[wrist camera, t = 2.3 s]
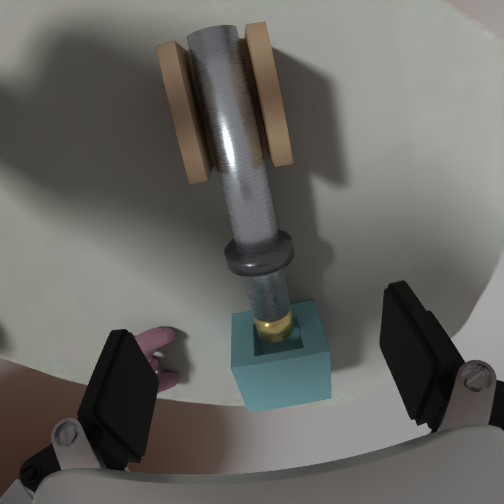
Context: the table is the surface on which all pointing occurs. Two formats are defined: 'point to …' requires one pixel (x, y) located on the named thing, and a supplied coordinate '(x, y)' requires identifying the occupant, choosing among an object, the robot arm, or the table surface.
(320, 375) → the socket block
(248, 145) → the rod
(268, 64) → the wooden cradle block
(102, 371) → the robot arm
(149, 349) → the video game controller
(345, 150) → the table surface
